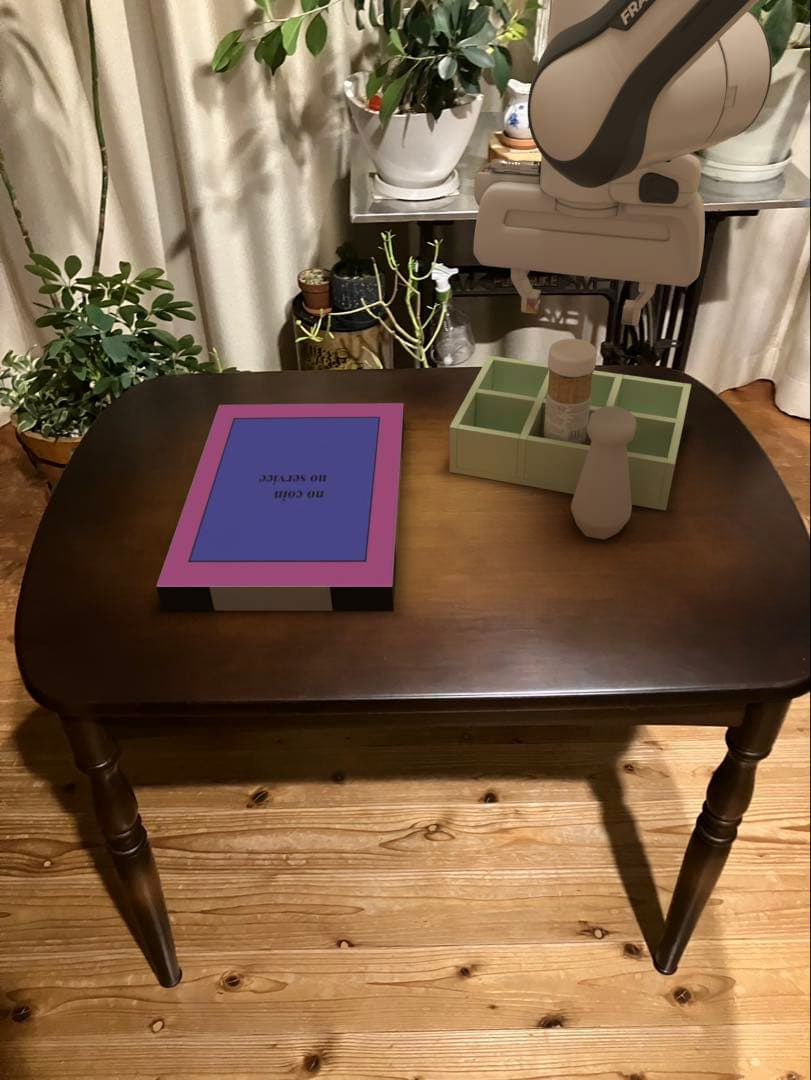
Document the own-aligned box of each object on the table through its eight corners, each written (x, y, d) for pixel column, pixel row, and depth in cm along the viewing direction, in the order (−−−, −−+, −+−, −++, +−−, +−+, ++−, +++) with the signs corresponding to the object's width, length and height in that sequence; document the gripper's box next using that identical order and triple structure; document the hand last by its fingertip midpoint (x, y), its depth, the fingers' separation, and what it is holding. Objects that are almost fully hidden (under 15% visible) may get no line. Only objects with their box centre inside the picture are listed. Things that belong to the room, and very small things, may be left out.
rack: (682, 428, 102) (691, 383, 99) (665, 510, 92) (674, 464, 88) (487, 398, 109) (488, 355, 105) (449, 472, 98) (449, 426, 94)
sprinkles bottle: (573, 446, 99) (585, 333, 90) (590, 470, 95) (604, 355, 87) (533, 453, 98) (542, 340, 89) (549, 477, 95) (559, 363, 86)
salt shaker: (626, 509, 92) (644, 398, 83) (631, 546, 88) (650, 433, 79) (567, 506, 92) (579, 396, 84) (569, 543, 88) (582, 431, 80)
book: (403, 403, 103) (392, 586, 80) (404, 425, 105) (393, 610, 82) (219, 404, 104) (156, 586, 81) (223, 426, 106) (163, 610, 83)
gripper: (464, 168, 78) (464, 318, 86) (713, 187, 72) (685, 345, 81) (484, 145, 82) (481, 290, 91) (720, 161, 76) (693, 313, 85)
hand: (579, 316), depth 86 cm, fingers open, 8 cm apart
